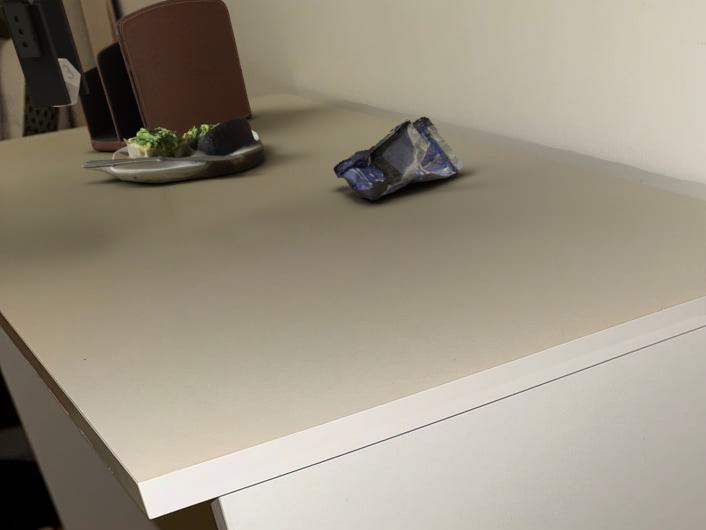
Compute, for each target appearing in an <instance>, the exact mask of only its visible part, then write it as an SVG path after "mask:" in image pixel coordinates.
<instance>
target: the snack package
mask: <svg viewBox="0 0 706 530" xmlns="http://www.w3.org/2000/svg"><path fill="white" fill-rule="evenodd" d="M463 167H464V161H463V159H459V157H457V156H456V155H455V152H454V150H453V148H451V146H450V145H449V144H448V143H447V141H446V140H445V139H444V138H443V137H442V135H440V133H439V131H438V129H437V127H436V125H434V123H433V122H432V120H431V119H430V118H429V117H426V116H421V117H420V118H418V119H416V120H415V121H411V120H408V119H405V120H404V121H403V122H402V123H400V124H398V125H397V126H395V127H392V128H391V129H390V130H389V133H388V134H386V135H385V136H384V137H383V138H382V139H380V140H379V141H378V142H377V143H376V144H375V145H372V146H371V147H370V148H368V149H364V150H357V151H355V153H354V154H351V156H349V157H348V158H346V159H344V160H343V159H342V160H341V161H339V162H338V163H337V164H336V165H335V166H333V168H332V169H333V171H334V175H335V176H336V178H337V179H343V180H345V181H346V183H347V184H348V186H349V187H350V188H351V189H352V191H353V193H352V194H353V195H355V196H356V198H359V199H368V200H371V201H376V200H379V199H381V197H382V196H384V195H385V196H387V195H388V194H389V195H390V194H392V193H394V192H396V191H398V190H399V189H401V188H403V187H406V186H407V185H409V184H413V183H422V182H428V181H433V180H441V179H447V178H449V177H451V176H453V175H454V174H455V175H458V174H459V172H460V171H461V170H462V169H463ZM341 188H344V185H341Z"/></svg>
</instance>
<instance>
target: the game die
mask: <svg viewBox="0 0 706 530" xmlns="http://www.w3.org/2000/svg"><path fill="white" fill-rule="evenodd" d="M58 60H59V64H60V67H61V70H62V73H63V77H64V80H65V83H66V86H67V90H68V93H69V96H70V99H71V104H69V105H61V106H52V107H55V108H62V107H69V106H74V105H77V103H78V100H79V98H78V93H79V86H80V76H81V74H80V73H79V72H78V71H77V70H76V69H75V68H74V67H73V66H72V65H71V64H70V62H69V61H68V60H67V59H58Z"/></svg>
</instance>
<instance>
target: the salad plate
mask: <svg viewBox="0 0 706 530" xmlns="http://www.w3.org/2000/svg"><path fill="white" fill-rule="evenodd" d="M123 139H124V141H125V142H126V144H127V147H124V148H122V149H120V150H118V151H114V152H113V155H112V158H111V159H91V160H88V161H84V162H83V163H82V164H81V168H82V169H84V170H90V171H95V172H102V173H105V174H109V175H111V176H113V177H115V178H117V179H119V180H120V181H127V182H132V183H133V182H134V183H147V184H163V183H165V184H166V183H173V182H178V181H179V182H180V181H185V180H186V181H188V180H193V179H203V178H211V177H217V176H224V175H230V174H235V173H239V172H242V171H245V170H248V169H251V168H254V167H256V166H258V165H259V164H260V163H261V162H262V159H263V153H264V144H263V141H262V140H261V137H260V136H259V134H258V133H257V132H256V131H254V130H253V129H252V127H251V124H250V121H249V120H248V118H247V119H246V118H234V119H230V120H228V121H225V122H222V123H218V124H217V125H206V124H205V125H201V127H200V129H197V128H196V127H195V126H194V128H193V129H190V130H189V132H188V133H185V134H184V135H183V136H180V134H179V133H178V132H176V131H175V132H173V131H169V130H167V129H164V128H161V127H159V128H156V129H147V130H146V129H144V128H141V130H140V131H139V132H138V133H137V136H136V137H134V138H130V139H129V140H128V141H127V140H126V139H125V138H123Z"/></svg>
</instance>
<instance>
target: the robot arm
mask: <svg viewBox="0 0 706 530" xmlns="http://www.w3.org/2000/svg"><path fill="white" fill-rule="evenodd" d="M0 8H1V11H2V14H3V17H4V20H5V23H6V26H7V30H8V32H9V36H10V39H11V41H12V44H13V47H14V50H15V53H16V56H17V60H18V62H19V66H20V68H21V71H22V74H23V78H24V81H25V83H26V86H27V89H28V92H29V95H30V98H31V101H32V104H33V107H34V109H36V108H37V109H38V108H47V107H48V108H49V107H53V106H61V105H68V106H70V105H69V104H71V99H70V96H69V93H68V90H67V86H66V83H65V80H64V77H63V73H62V70H61V67H60V64H59V60H58V59H67V60H68V61H69V62H70V64H71V65H72V66H73V67H74V68H75V69H76V70H77V71H78V72H79V73H80V74H81V76H80V86H79V93H78V96H79V95H87V94H89V93H90V92H89V89H88V85H87V82H86V79H85V75H84V69H83V66H82V62H81V59H80V55H79V52H78V49H77V45H76V42H75V38H74V35H73V32H72V28H71V26H70V22H69V18H68V15H67V11H66V8H65V4H64V2H63V0H0Z"/></svg>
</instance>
